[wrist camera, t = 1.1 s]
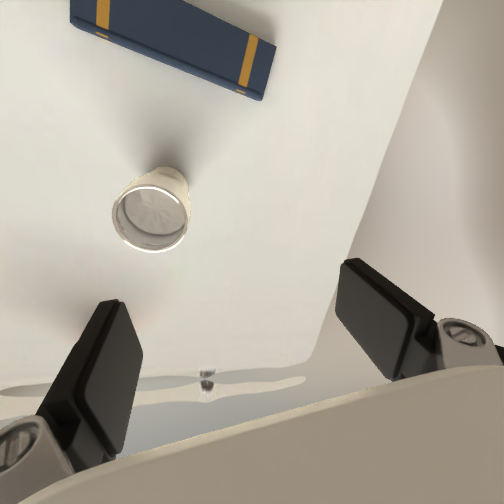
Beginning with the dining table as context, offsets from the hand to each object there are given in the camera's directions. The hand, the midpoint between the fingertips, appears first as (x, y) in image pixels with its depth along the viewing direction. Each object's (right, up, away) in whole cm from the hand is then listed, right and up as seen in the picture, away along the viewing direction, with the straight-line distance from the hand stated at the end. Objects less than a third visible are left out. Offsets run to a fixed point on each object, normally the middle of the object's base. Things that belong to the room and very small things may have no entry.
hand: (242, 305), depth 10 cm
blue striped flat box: (-8, +28, +18) cm, 34 cm away
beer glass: (-12, +12, +25) cm, 30 cm away
